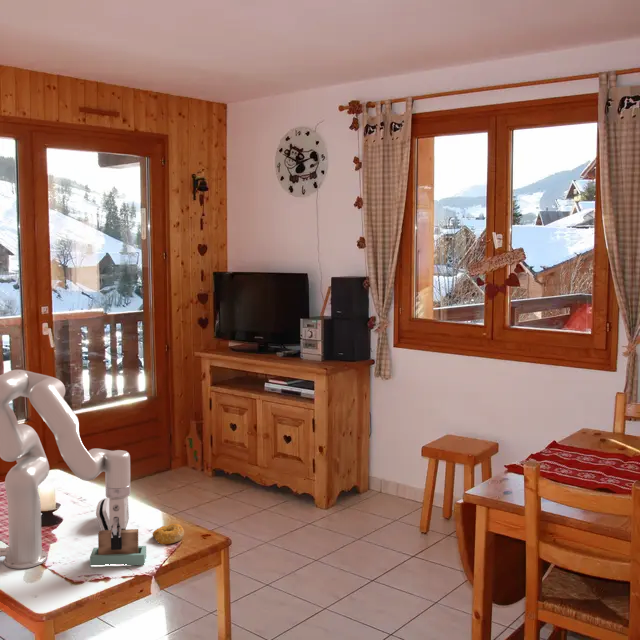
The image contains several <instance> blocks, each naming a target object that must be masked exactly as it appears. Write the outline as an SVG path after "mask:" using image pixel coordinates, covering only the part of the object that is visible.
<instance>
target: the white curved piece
mask: <svg viewBox="0 0 640 640" xmlns="http://www.w3.org/2000/svg"><path fill="white" fill-rule="evenodd" d="M95 516H96V518H97V522H98V525H99V527H100V531H101V530H111V529H110V523H109V498H107V497H105V498H102V499H101V500H99V502H98V504H97V506H96V509H95Z"/></svg>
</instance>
